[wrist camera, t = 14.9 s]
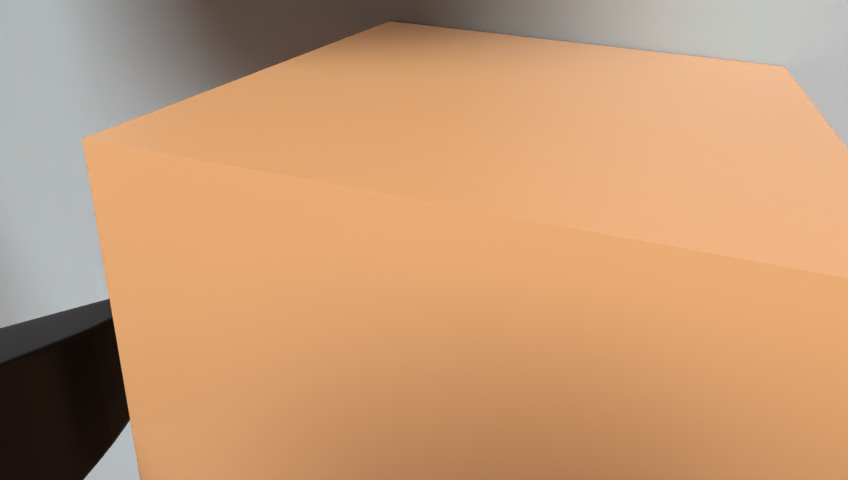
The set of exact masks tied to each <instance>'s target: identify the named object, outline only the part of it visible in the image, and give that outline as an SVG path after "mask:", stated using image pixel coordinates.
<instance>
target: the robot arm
mask: <svg viewBox="0 0 848 480" xmlns="http://www.w3.org/2000/svg"><path fill="white" fill-rule="evenodd" d="M129 421H130V416H129V410H128V404H127V398H126V392H125V386H124V381H123V375H122V369H121V363H120V357H119V351H118V345H117V339H116V334H115V328H114V322H113V316H112V310H111V304H110V299H107V300H103V301H99V302H96V303H92V304H88V305H85V306H81V307H77V308H74V309H70V310H66V311H62V312H59V313H55V314H51V315H48V316H44V317H40V318H37V319H33V320H29V321H25V322H22V323H18V324H14V325H11V326H7V327H3V328H0V480H84V478H85V477H86V476H87V475H88V474H89V472H90V471H91V470H92V469H93V468H94V467H95V465H96V464H97V463H98V462H99V461H100V459H101V458H102V457H103V456H104V454H105V453H106V452H107V451H108V449H109V448H110V447H111V446H112V444H113V443H114V442H115V440H116V439H117V438H118V436H119V435H120V433H121V432H122V431H123V429H124V428H125V426H126V425H127V423H128V422H129Z"/></svg>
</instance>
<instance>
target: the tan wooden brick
mask: <svg viewBox="0 0 848 480" xmlns="http://www.w3.org/2000/svg"><path fill="white" fill-rule="evenodd" d="M83 145H84V151H85V157H86V163H87V169H88V175H89V181H90V187H91V192H92V198H93V204H94V210H95V216H96V222H97V228H98V234H99V239H100V245H101V251H102V257H103V263H104V269H105V275H106V281H107V287H108V292H109V298H110V304H111V310H112V316H113V322H114V328H115V334H116V339H117V345H118V351H119V357H120V363H121V369H122V375H123V381H124V386H125V392H126V398H127V404H128V410H129V416H130V422H131V428H132V434H133V439H134V445H135V451H136V457H137V463H138V469H139V475H140V480H848V148H847V147H846V146H845V144H844V143H843V142H842V140H841V139H840V138H839V137H838V135H837V134H836V133H835V131H834V130H833V129H832V127H831V126H830V125H829V123H828V122H827V121H826V120H825V118H824V117H823V116H822V114H821V113H820V112H819V110H818V109H817V108H816V107H815V105H814V104H813V103H812V101H811V100H810V99H809V97H808V96H807V95H806V93H805V92H804V91H803V90H802V88H801V87H800V86H799V84H798V83H797V82H796V80H795V79H794V78H793V77H792V75H791V74H790V73H789V71H788V70H787V69H786V67H784V66H776V65H767V64H758V63H750V62H741V61H732V60H723V59H715V58H706V57H697V56H689V55H680V54H671V53H662V52H654V51H645V50H636V49H628V48H619V47H610V46H601V45H593V44H584V43H575V42H567V41H558V40H549V39H540V38H532V37H523V36H514V35H506V34H497V33H488V32H479V31H471V30H462V29H453V28H445V27H436V26H427V25H419V24H410V23H401V22H392V21H389V22H386V23H383V24H381V25H378V26H376V27H373V28H370V29H368V30H365V31H363V32H360V33H357V34H355V35H352V36H349V37H347V38H344V39H342V40H339V41H336V42H334V43H331V44H329V45H326V46H323V47H321V48H318V49H315V50H313V51H310V52H308V53H305V54H302V55H300V56H297V57H295V58H292V59H289V60H287V61H284V62H282V63H279V64H276V65H274V66H271V67H268V68H266V69H263V70H261V71H258V72H255V73H253V74H250V75H248V76H245V77H242V78H240V79H237V80H234V81H232V82H229V83H227V84H224V85H221V86H219V87H216V88H214V89H211V90H208V91H206V92H203V93H200V94H198V95H195V96H193V97H190V98H187V99H185V100H182V101H180V102H177V103H174V104H172V105H169V106H166V107H164V108H161V109H159V110H156V111H153V112H151V113H148V114H146V115H143V116H140V117H138V118H135V119H133V120H130V121H127V122H125V123H122V124H119V125H117V126H114V127H112V128H109V129H106V130H104V131H101V132H99V133H96V134H93V135H91V136H88V137H85V138H83Z"/></svg>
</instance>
